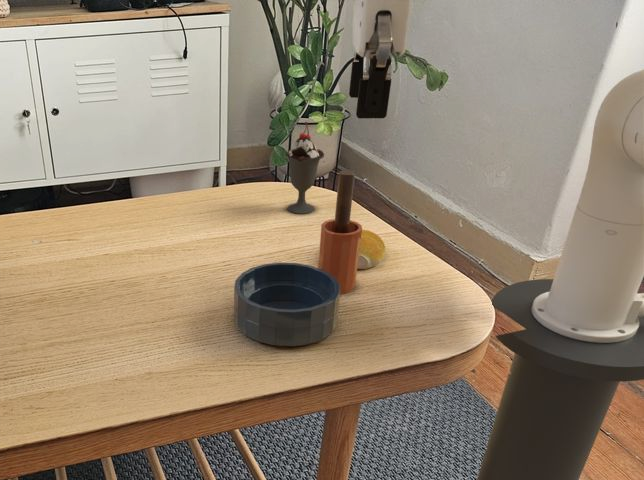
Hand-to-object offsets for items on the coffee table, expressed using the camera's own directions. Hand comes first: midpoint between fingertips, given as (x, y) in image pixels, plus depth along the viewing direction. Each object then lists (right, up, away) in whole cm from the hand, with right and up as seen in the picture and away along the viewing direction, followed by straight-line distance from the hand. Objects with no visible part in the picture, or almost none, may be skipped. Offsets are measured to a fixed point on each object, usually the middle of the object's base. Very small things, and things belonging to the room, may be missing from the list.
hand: (366, 106), depth 75 cm
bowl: (-8, -25, +10) cm, 28 cm away
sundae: (0, -3, +43) cm, 43 cm away
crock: (+1, -19, +18) cm, 26 cm away
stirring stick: (+1, -18, +18) cm, 26 cm away
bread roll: (+6, -14, +25) cm, 29 cm away
